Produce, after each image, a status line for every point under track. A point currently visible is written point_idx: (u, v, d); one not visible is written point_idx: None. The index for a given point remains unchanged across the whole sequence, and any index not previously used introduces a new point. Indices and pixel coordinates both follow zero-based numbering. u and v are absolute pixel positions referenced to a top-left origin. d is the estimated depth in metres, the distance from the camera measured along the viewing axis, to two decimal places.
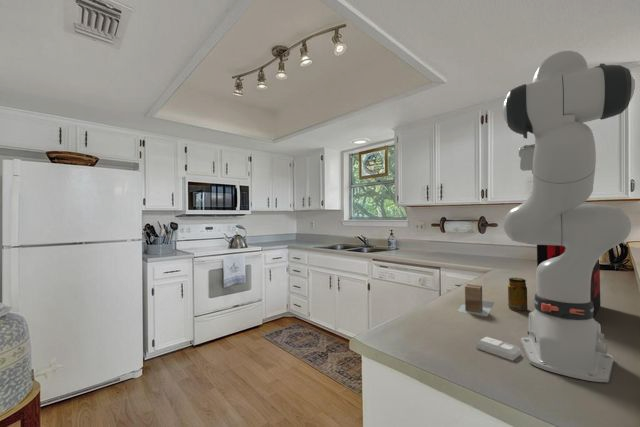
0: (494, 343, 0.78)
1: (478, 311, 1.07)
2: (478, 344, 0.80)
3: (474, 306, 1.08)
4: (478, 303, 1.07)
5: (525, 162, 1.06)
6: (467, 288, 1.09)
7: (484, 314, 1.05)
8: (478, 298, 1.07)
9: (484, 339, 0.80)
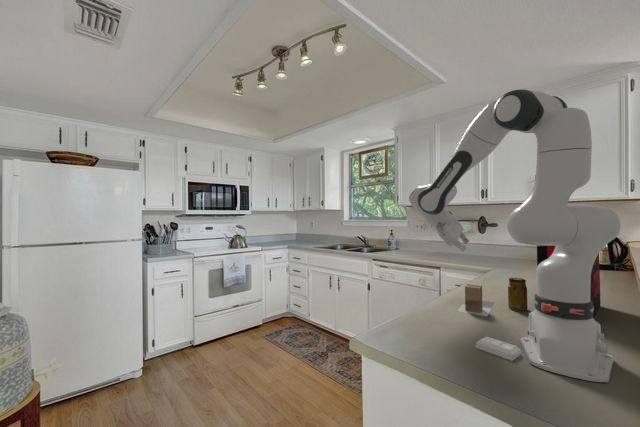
0: (494, 343, 0.78)
1: (478, 311, 1.07)
2: (478, 344, 0.80)
3: (474, 306, 1.08)
4: (478, 303, 1.07)
5: (452, 235, 1.10)
6: (467, 288, 1.09)
7: (484, 314, 1.05)
8: (478, 298, 1.07)
9: (484, 339, 0.80)
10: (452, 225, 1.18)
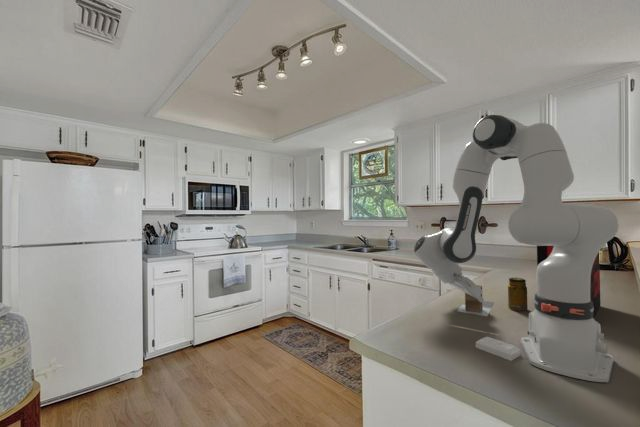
0: (493, 343, 0.78)
1: (478, 311, 1.07)
2: (478, 344, 0.80)
3: (474, 306, 1.08)
4: (478, 303, 1.07)
5: None
6: None
7: (484, 314, 1.05)
8: None
9: (484, 339, 0.80)
10: None
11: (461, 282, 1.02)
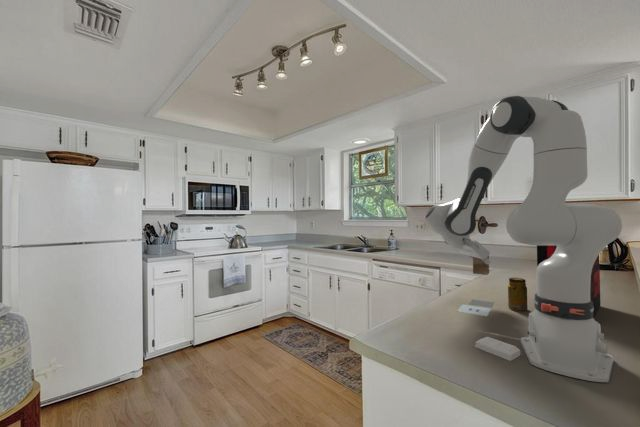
0: (493, 343, 0.78)
1: (485, 273, 1.15)
2: (477, 343, 0.80)
3: (482, 269, 1.16)
4: (485, 266, 1.15)
5: None
6: None
7: (484, 314, 1.05)
8: None
9: (484, 339, 0.80)
10: None
11: (470, 245, 1.10)
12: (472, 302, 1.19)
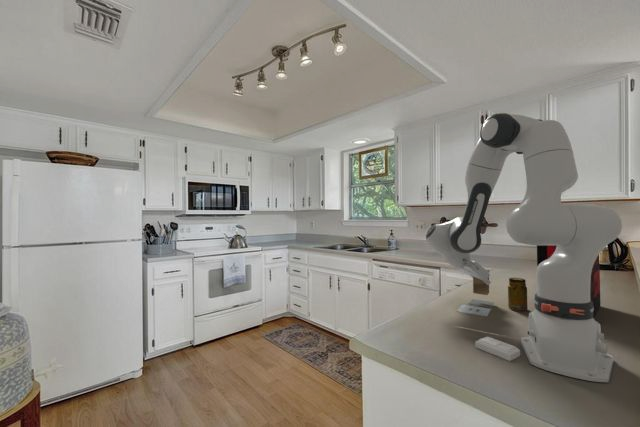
0: (493, 343, 0.78)
1: (485, 293, 1.15)
2: (477, 343, 0.80)
3: (482, 289, 1.16)
4: (485, 286, 1.15)
5: None
6: None
7: (484, 314, 1.05)
8: None
9: (484, 339, 0.80)
10: None
11: (470, 266, 1.10)
12: (472, 302, 1.19)
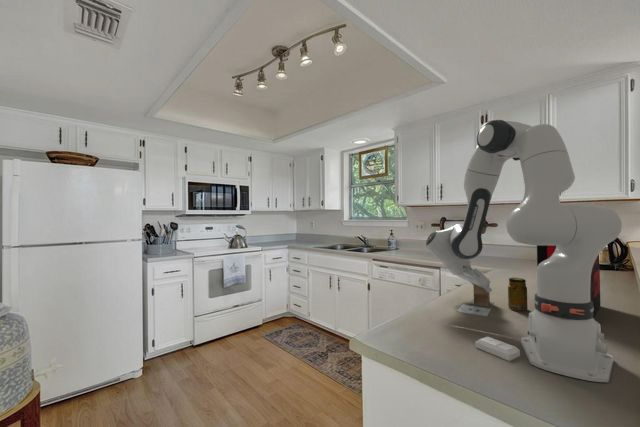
0: (493, 343, 0.78)
1: (486, 304, 1.15)
2: (477, 343, 0.80)
3: (482, 300, 1.16)
4: (486, 297, 1.15)
5: None
6: None
7: (484, 314, 1.05)
8: (486, 292, 1.15)
9: (484, 339, 0.80)
10: None
11: (470, 273, 1.10)
12: (472, 302, 1.19)
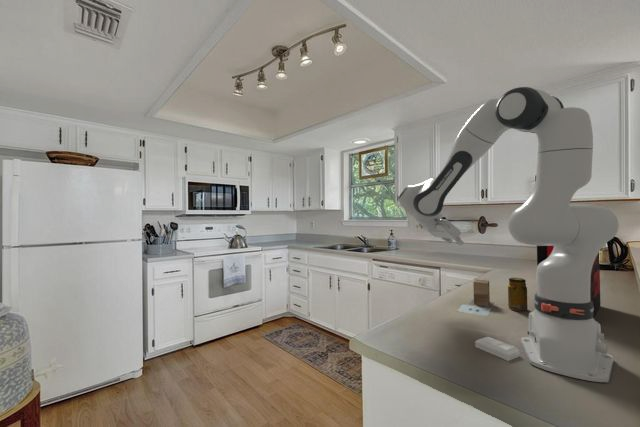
0: (492, 343, 0.78)
1: (486, 304, 1.15)
2: (477, 343, 0.80)
3: (482, 300, 1.16)
4: (486, 297, 1.15)
5: None
6: (475, 283, 1.17)
7: (484, 314, 1.05)
8: (486, 292, 1.15)
9: (484, 339, 0.80)
10: None
11: (441, 224, 1.09)
12: (472, 302, 1.19)
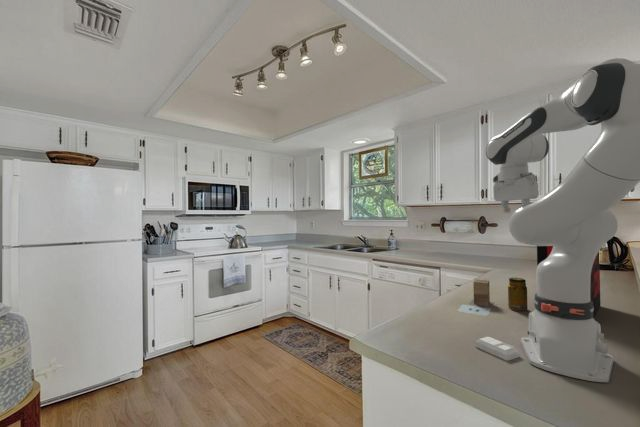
0: (492, 343, 0.78)
1: (486, 304, 1.15)
2: (477, 343, 0.80)
3: (482, 300, 1.16)
4: (486, 297, 1.15)
5: None
6: (475, 283, 1.17)
7: (484, 314, 1.05)
8: (486, 292, 1.15)
9: (484, 338, 0.81)
10: None
11: (527, 178, 1.01)
12: (472, 302, 1.19)
